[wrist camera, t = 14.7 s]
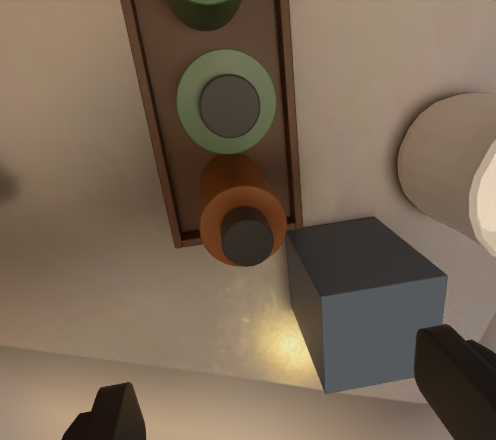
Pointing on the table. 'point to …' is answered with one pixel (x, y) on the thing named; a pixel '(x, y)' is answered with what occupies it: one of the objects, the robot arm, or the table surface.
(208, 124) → the green bottle mid
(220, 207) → the amber bottle
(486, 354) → the robot arm
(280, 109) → the tray
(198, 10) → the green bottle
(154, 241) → the table surface
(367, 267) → the stand
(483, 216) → the cup
